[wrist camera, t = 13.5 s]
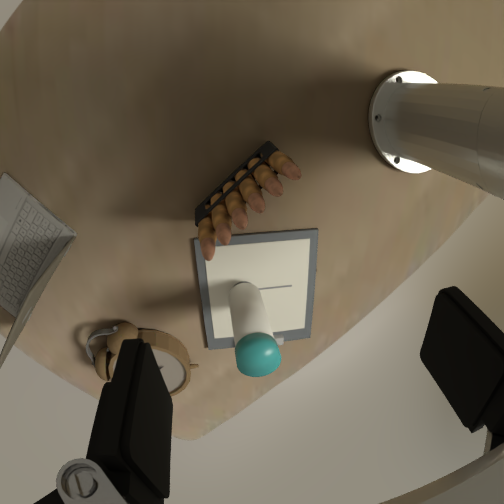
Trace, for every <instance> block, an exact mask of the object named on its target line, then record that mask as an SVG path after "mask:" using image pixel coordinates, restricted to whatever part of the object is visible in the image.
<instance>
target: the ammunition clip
mask: <svg viewBox="0 0 504 504" xmlns="http://www.w3.org/2000/svg"><path fill="white" fill-rule="evenodd" d="M270 166H271V167H272V168H273V169H274V171H273V170H272V169H271V168H270ZM278 173H279V174H281V175H284V176H286V177H287V178H289V179H292V180H299V179H300V178H301V171H300V169H299V168H298V166H297V165H295V163H294V162H293V160H292V159H291V158H290V157H288V156H287V155H285V154H284V153H282V152H281V151H279V150H278V149H277V148H276V147H275V146H274V145H273V144H272V143H271V142H270V141H267V142H266V143H265V144H264V145H263V146H261V147H260V148H259V149H258V150H257V151H256V152H255V153H254V154H253V155H252V156H250V157H249V158H248V159H247V160H246V161H245V162H244V163H243V164H242V165H241V166H240V167H239V168H238V169H236V170H235V171H234V172H233V173H232V174H231V175H230V176H229V177H228V178H227V179H226V180H225V181H224V182H223V183H222V184H221V185H220V186H219V187H217V188H216V189H215V190H214V191H213V192H212V193H211V194H210V195H209V196H208V197H207V198H206V199H205V200H204V201H203V202H202V203H201V204H200V205H199V206H198V207H197V208H196V209H195V225H196V226H197V227H198V239H199V241H200V246H201V252H202V255H203V257H204V259H205V260H206V261H211V260H212V258H213V256H214V254H215V245H216V240H217V238H218V240H219V242H220V243H221V244H222V245H224V246H226V245H228V244H229V242H230V240H231V224H232V221H231V218H232V219H233V222H234V224H235V225H236V226H237V227H238V228H239V229H242V230H243V229H245V228H246V227H247V223H248V217H247V212H246V211H247V207H246V202H247V203H248V204H249V206H250V207H251V208H252V210H254V211H255V212H257V213H263V212H264V210H265V202H264V199H263V196H262V191H261V189H262V188H264V189H266V190H267V191H268V192H269V193H270V194H272V195H273V196H277V197H279V196H281V195H282V194H283V187H282V184H281V183H280V181H279V180H278V177H277V174H278ZM255 179H256V180H257V182H258V183H259V184H260V185H259V186H258V184H257V183H256V181H255ZM198 223H199V225H198Z"/></svg>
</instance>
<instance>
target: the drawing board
mask: <svg viewBox="0 0 504 504" xmlns="http://www.w3.org/2000/svg"><path fill="white" fill-rule="evenodd" d="M194 244H195V253H196V262H197V270H198V278H199V286H200V293H201V301H202V308H203V315H204V322H205V329H206V336H207V342H208V349H209V350H212V349H223V348H233V347H235V342H234V335H233V328H232V321H231V314H230V307H229V300H228V295H229V292H230V290H231V289H232V288H233V286H234V285H235V284H237V283H238V282H242V281H247V282H250V283H251V284H253V285H255V286H256V287H258V289H259V290H260V293H261V296H262V299H263V303H264V306H265V309H266V313H267V316H268V319H269V323H270V326H271V329H272V332H273V336H274V339H275V340H276V342H277V345H283V342H284V341H291V340H298V339H305V338H310V335H311V324H312V314H313V302H314V290H315V277H316V262H317V246H318V229H317V228H312V229H298V230H285V231H272V232H260V233H248V234H235V235H231V240H230V242H229V244H228V245H226V246H224V245H222V244H221V243H220V242H219V240H218V238H217V240H216V245H215V254H214V256H213V258H212V260H211V261H206V260H205V259H204V257H203V255H202V252H201V246H200V241H199V239H198V238H194Z"/></svg>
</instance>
